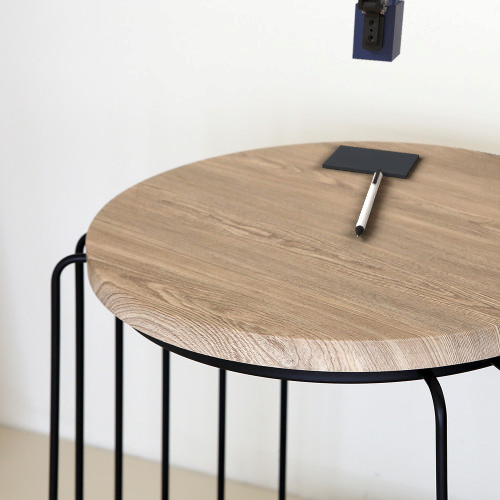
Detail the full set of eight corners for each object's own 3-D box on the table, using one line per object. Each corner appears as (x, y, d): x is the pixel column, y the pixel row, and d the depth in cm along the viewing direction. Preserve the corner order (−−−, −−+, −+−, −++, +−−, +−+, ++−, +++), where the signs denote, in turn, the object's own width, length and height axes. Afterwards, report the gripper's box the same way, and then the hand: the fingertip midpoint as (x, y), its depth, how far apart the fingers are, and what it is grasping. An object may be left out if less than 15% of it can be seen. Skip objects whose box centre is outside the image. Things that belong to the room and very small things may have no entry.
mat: (419, 157, 98) (419, 154, 98) (405, 178, 92) (405, 175, 91) (340, 148, 102) (340, 144, 101) (322, 167, 95) (322, 164, 95)
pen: (383, 174, 92) (384, 165, 92) (361, 241, 76) (362, 230, 75) (375, 173, 93) (376, 164, 92) (352, 240, 76) (353, 229, 75)
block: (400, 54, 92) (404, 0, 89) (391, 62, 88) (396, 6, 85) (361, 51, 93) (365, -3, 91) (352, 58, 90) (355, 3, 87)
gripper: (412, -121, 76) (397, 61, 83) (437, -122, 88) (422, 36, 95) (336, -121, 78) (327, 55, 85) (370, -123, 90) (361, 32, 97)
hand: (377, 44), depth 90 cm, fingers closed on block, 4 cm apart
